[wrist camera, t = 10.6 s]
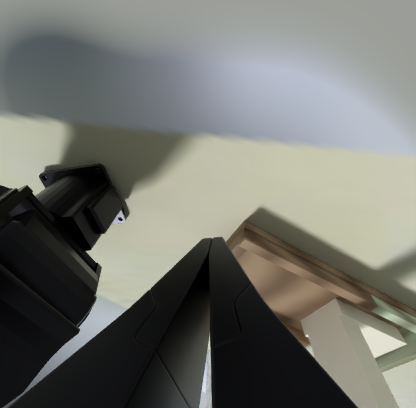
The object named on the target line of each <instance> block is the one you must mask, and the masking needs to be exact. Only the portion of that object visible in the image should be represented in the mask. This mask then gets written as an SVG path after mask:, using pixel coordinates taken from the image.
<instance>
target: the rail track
mask: <svg viewBox="0 0 416 408" xmlns="http://www.w3.org/2000/svg"><path fill="white" fill-rule="evenodd" d="M226 243H227V245H228V246H229V248H230V249H231V251H232V253H233V254H234V256H235V257H236V259H237V260H238V262H239V263H240V265H241V266H242V268H243V270H244V271H245V273H246V274H247V276H248V277H249V279H250V280H251V282H252V284H253V285H254V286H255V288H256V289H257V291H258V292H259V294H260V295H261V296H262V298H263V299H264V301H265V302H266V303H267V304H268V306H269V307H270V308H271V309H272V311H273V312H274V313H275V314H276V315H277V316H278V318H279V319H280V320H281V321H282V322H283V323H284V324H285V325H286V327H287V328H288V329H289V330H290V331H291V332H292V333H293V335H294V336H295V337H296V338H297V339H298V340H299V341H300V342H301V344H302V345H303V346H304V347H305V348H307V349H310V350H312V347H311V343H310V340H309V338H308V337H306V336H305V334H304V331H303V327H302V324H301V320H303V319H304V318H306V317H307V316H309V315H310V314H312V313H313V312H315V311H316V310H318V309H319V308H321V307H323V306H324V305H326V304H327V303H329V302H330V301H332V300H333V299H335V298H336V299H338V300H340V301H342V302H344V303H347V304H349V305H351V306H353V307H355V308H357V309H359V310H361V311H363V312H365V313H367V314H369V315H371V316H373V317H375V318H377V319H379V320H381V321H383V322H386V323H388V324H390V325H392V326H394V327H396V328H397V329H398V330H399V332H400V334H401V335H402V337H403V338H404V340H405V342H406V343H407V344H406V345H404V346H402V347H399V348H397V349H395V350H392V351H390V352H388V353H385V354H383V355H381V356H378V357H376V358H375V360H376V362H377V364H378V366H379V368H380V370H381V372H384V371H387V370H389V369H392V368H394V367H397V366H399V365H402V364H405V363H407V362H410V361H412V360H415V359H416V311H415V310H413V309H411V308H409V307H407V306H405V305H403V304H401V303H399V302H398V301H396V300H394V299H392V298H390V297H388V296H386V295H384V294H382V293H380V292H379V291H377V290H375V289H373V288H371V287H369V286H367V285H365V284H363V283H361V282H360V281H358V280H356V279H354V278H352V277H350V276H348V275H346V274H344V273H342V272H341V271H339V270H337V269H335V268H333V267H331V266H329V265H327V264H325V263H323V262H322V261H320V260H318V259H316V258H314V257H312V256H310V255H308V254H306V253H304V252H303V251H301V250H299V249H297V248H295V247H293V246H291V245H289V244H287V243H285V242H284V241H282V240H280V239H278V238H276V237H274V236H272V235H270V234H268V233H266V232H265V231H263V230H261V229H259V228H257V227H255V226H253V225H251V224H249V223H247V222H245V221H244V222H243V223H242V224H241V226H240V227H239V228H238V229H237V230H236V231H235V232H234V234H233V235H232V236H231V237H230V238H229V239H228V241H227V242H226ZM312 351H313V350H312Z"/></svg>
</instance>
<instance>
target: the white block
mask: <svg viewBox="0 0 416 408" xmlns="http://www.w3.org/2000/svg"><path fill="white" fill-rule="evenodd" d="M301 324H302V327H303V331H304V334H305V336H306V337H308V338H309V340H310V343H311V347H312V350H313V354H314V357H315V359H316V360H317V362H318V363H319V364H320V365H321V366H322V367H323V368H324V370H325V371H326V372H327V373H328V374H329V375H330V376H331V377H332V379H333V380H334V381H335V382H336V383H337V384H338V385H339V386H340V388H341V389H342V390H343V391H344V392H345V393H346V394H347V396H348V397H349V398H350V399H351V400H352V401H353V402H354V403H355V405H356V406H357V407H358V408H399V407H398V405H397V403H396V401H395V399H394V397H393V395H392V393H391V391H390V389H389V387H388V385H387V383H386V381H385V378H384V376H383V374H382V372H381V370H380V368H379V366H378V364H377V362H376V360H375V358H376V357H378V356H381V355H383V354H385V353H388V352H390V351H392V350H395V349H397V348H399V347H402V346H404V345H406V344H407V343H406V342H405V340H404V338H403V337H402V335H401V334H400V332H399V330H398V329H397V328H396V327H394V326H392V325H390V324H388V323H386V322H383V321H381V320H379V319H377V318H375V317H373V316H371V315H369V314H367V313H365V312H363V311H361V310H359V309H357V308H355V307H353V306H351V305H349V304H347V303H344V302H342V301H340V300H338V299H336V298H335V299H333V300H332V301H330V302H329V303H327V304H326V305H324V306H323V307H321V308H319V309H318V310H316V311H315V312H313V313H312V314H310V315H309V316H307V317H306V318H304V319H303V320H301Z"/></svg>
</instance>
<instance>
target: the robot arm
mask: <svg viewBox="0 0 416 408" xmlns="http://www.w3.org/2000/svg"><path fill="white" fill-rule="evenodd" d="M97 168H99V169H100V170H101V171H98V169H97ZM46 177H47V178H46ZM39 178H40V180H41V181H42V183H43V185H44V186H45V188H46V189H44V190H43V191H41V192H40V193H39V194H37V195H36V196H35V195H34V194H33V193H32V192H33V191H32V190H31V189H30V188H29V187H28V185H26V186H24V187H21V188H19V189H17V188H15V189H12V188H11V189H10V188H7V187H4V186H1V185H0V408H2V407H4V406H5V405H7V404H8V403H9V402H11V401H12V400H13V399H15V398H16V397H17V396H19V395H20V394H21V393H23V392H24V390H25V389H26V388H27V387H28V386H29V384H30V383H31V382H32V380H33V379H34V378H35V377H36V376H37V374H38V373H39V372H40V370H41V369H42V368H43V367H44V365H45V364H46V363H47V361H49V359H50V358H51V357H52V356H53V355H54V354H55V353H56V352H57V351H58V350H59V349H60V348H61V347H62V346H63V345H64V344H65V343H67V342H68V341H69V340H71V339H72V338H73V337H74V336H76V335H77V334H78V333H79V331H80V329H79V328H78V327H79V326H80V325H81V324H82V323H83V322H84V320H85V319H86V318H87V316H88V315H89V313H90V311H91V309H92V307H93V305H94V304H95V302H96V298H97V297H96V296H95V295H96V291H97V286H98V282H99V277H100V273H101V268H102V267H101V266H100V265H99V264H98V263H96V262H95V261H94V260H93V259H92V258H91V257H90V256H89V255H88V253H87V252H86V251H89V250H91V249H92V248H93V246H94V245H95V243H96V242H97V240H98V239H99V238H100V236H101V235H102V234H105V233H106V231H107V230H108V228H109V227H110V225H111V224H117V223H124V222H125V220H126V218H127V217H126V214H125V212H124V210H123V208H122V207H123V206H122V203H121V201H120V199H119V197H118V194H117V192H116V190H115V188H114V186H113V185H112V183H111V181H110V179H109V176H108V174H107V172H106V170H105V168H104V166H103V165H101V164H93V165H87V166H80V167H73V168H66V169H59V170H53V171H46V172H43V173H41V174H40V175H39ZM120 217H121V218H122V219H121V218H120ZM209 334H210V347H211V394H212V408H358V407H357V406H356V405H355V403H354V402H353V401H352V400H351V399H350V398H349V397H348V396H347V394H346V393H345V392H344V391H343V390H342V389H341V388H340V386H339V385H338V384H337V383H336V382H335V381H334V380H333V379H332V377H331V376H330V375H329V374H328V373H327V372H326V371H325V370H324V368H323V367H322V366H321V365H320V364H319V363H318V362H317V360H316V359H315V358H314V357H313V356H312V355H311V354H310V353H309V351H308V350H307V349H306V348H305V347H304V346H303V345H302V344H301V342H300V341H299V340H298V339H297V338H296V337H295V336H294V335H293V333H292V332H291V331H290V330H289V329H288V328H287V327H286V325H285V324H284V323H283V322H282V321H281V320H280V319H279V318H278V316H277V315H276V314H275V313H274V312H273V311H272V309H271V308H270V307H269V306H268V304H267V303H266V302H265V301H264V299H263V298H262V296H261V295H260V294H259V292H258V291H257V289H256V288H255V286H254V285H253V284H252V282H251V280H250V279H249V277H248V276H247V274H246V273H245V271H244V270H243V268H242V266H241V265H240V263H239V262H238V260H237V259H236V257H235V256H234V254H233V253H232V251H231V249H230V248H229V246H228V245H227V243H226V242H225V240H224V239H223V237H215V238H213V239H212V238H204V239H202V240H201V241H200V242H199V243H198V244H197V245H196V246H195V247H193V248H192V249H191V250H190V251H189V252H188V253H187V254H186V255H185V256H184V257H183V258H182V259H181V260H180V261H179V262H178V263H177V264H176V265H175V266H174V267H173V268H172V269H171V270H170V271H168V272H167V273H166V274H165V275H164V276H163V277H162V278H161V279H160V280H159V281H158V282H157V283H156V284H155V285H154V286H153V287H152V288H151V289H150V290H148V291H147V292H146V293H145V294H144V295H143V296H142V297H141V298H140V299H139V300H138V301H136V302H135V303H134V304H133V305H132V306H131V307H130V308H129V309H128V310H126V311H125V312H124V313H123V314H122V315H121V316H119V317H118V318H117V319H116V320H114V321H113V322H112V323H111V324H110V325H108V326H107V327H106V328H105V329H103V330H102V331H101V332H100V333H99V334H97V335H96V336H95V337H94V338H92V339H91V340H90V341H89V342H88V343H86V344H85V345H84V346H83V347H81V348H80V349H79V350H78V351H76V352H75V353H74V354H73V355H72V356H70V357H69V358H68V359H67V360H65V361H64V362H63V363H62V364H61V365H59V366H58V367H57V368H56V369H54V370H53V371H52V372H51V373H49V375H47V376H46V377H45V378H43V379H42V380H41V381H40V382H38V383H37V384H36V385H35V386H34V387H32V388H31V389H30V390H29V391H27V392H26V393H25V394H24V395H23V396H21V397H20V398H19V399H18V400H16V401H15V402H14V403H13V404H12V405H10V406H9V407H8V408H199V404H200V397H201V390H202V383H203V376H204V369H205V362H206V355H207V348H208V341H209Z"/></svg>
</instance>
